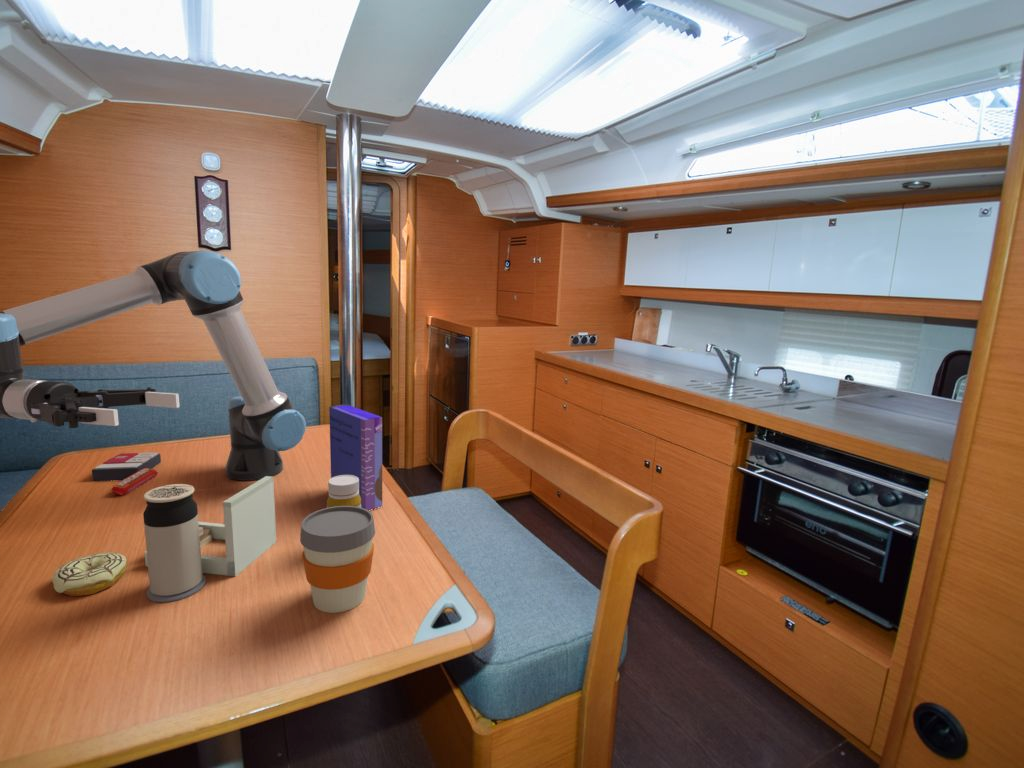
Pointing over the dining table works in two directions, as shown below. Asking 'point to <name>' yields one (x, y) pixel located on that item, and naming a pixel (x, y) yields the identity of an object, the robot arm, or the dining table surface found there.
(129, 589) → the dining table surface
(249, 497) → the rack
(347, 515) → the reusable coffee cup
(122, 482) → the candy bar
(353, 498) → the bottle
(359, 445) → the purple rectangular box
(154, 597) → the coaster
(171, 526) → the travel mug
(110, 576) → the decorated donut
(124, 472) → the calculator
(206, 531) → the offcut stack
